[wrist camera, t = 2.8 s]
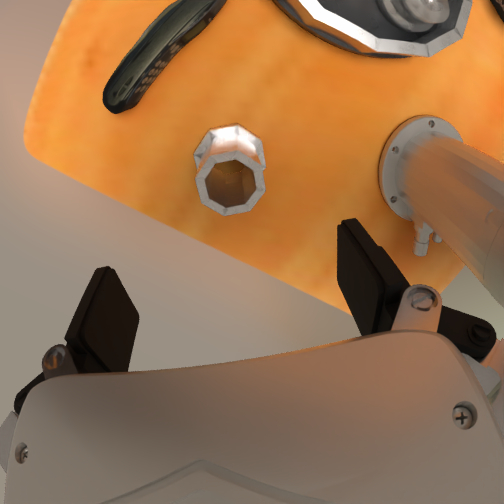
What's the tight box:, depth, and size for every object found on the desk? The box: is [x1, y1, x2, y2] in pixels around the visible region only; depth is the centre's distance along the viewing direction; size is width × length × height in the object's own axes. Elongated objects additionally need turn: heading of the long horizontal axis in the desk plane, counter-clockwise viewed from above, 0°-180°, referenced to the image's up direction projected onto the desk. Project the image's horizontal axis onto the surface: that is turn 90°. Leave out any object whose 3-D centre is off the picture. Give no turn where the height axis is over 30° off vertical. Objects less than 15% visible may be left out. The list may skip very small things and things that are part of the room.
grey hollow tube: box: [193, 123, 266, 216], centre depth 23 cm, size 6×6×8 cm
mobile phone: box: [103, 0, 226, 114], centre depth 17 cm, size 5×3×15 cm
